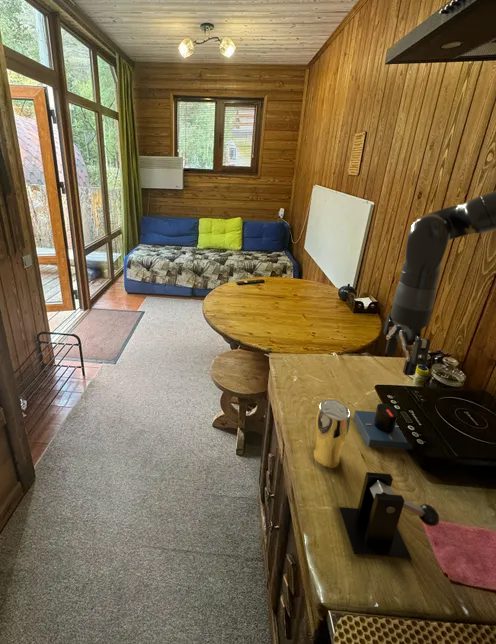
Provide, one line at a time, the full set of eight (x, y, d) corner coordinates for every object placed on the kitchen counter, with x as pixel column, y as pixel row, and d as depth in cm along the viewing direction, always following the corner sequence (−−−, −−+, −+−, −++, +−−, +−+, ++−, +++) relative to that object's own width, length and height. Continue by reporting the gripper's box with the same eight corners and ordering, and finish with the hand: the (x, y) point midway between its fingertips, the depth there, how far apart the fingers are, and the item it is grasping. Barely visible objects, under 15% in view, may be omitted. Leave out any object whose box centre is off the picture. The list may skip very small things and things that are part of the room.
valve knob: (370, 418, 83) (373, 402, 81) (388, 419, 83) (391, 402, 81) (378, 432, 79) (382, 415, 77) (397, 433, 78) (402, 416, 77)
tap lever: (424, 514, 58) (436, 504, 57) (435, 533, 55) (447, 522, 54) (366, 486, 57) (377, 476, 56) (374, 504, 54) (385, 493, 53)
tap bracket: (388, 515, 62) (401, 467, 58) (410, 562, 55) (427, 511, 51) (338, 510, 63) (347, 463, 59) (352, 557, 55) (364, 506, 51)
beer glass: (304, 452, 76) (312, 403, 71) (326, 443, 79) (335, 395, 74) (325, 477, 70) (334, 424, 65) (348, 466, 73) (358, 415, 68)
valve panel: (393, 421, 86) (395, 412, 85) (413, 452, 77) (416, 442, 76) (353, 419, 87) (354, 409, 86) (367, 449, 77) (370, 439, 76)
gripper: (451, 317, 63) (432, 383, 68) (412, 291, 77) (399, 348, 81) (413, 315, 63) (397, 381, 68) (381, 290, 77) (370, 347, 82)
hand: (398, 363), depth 75 cm, fingers open, 8 cm apart
